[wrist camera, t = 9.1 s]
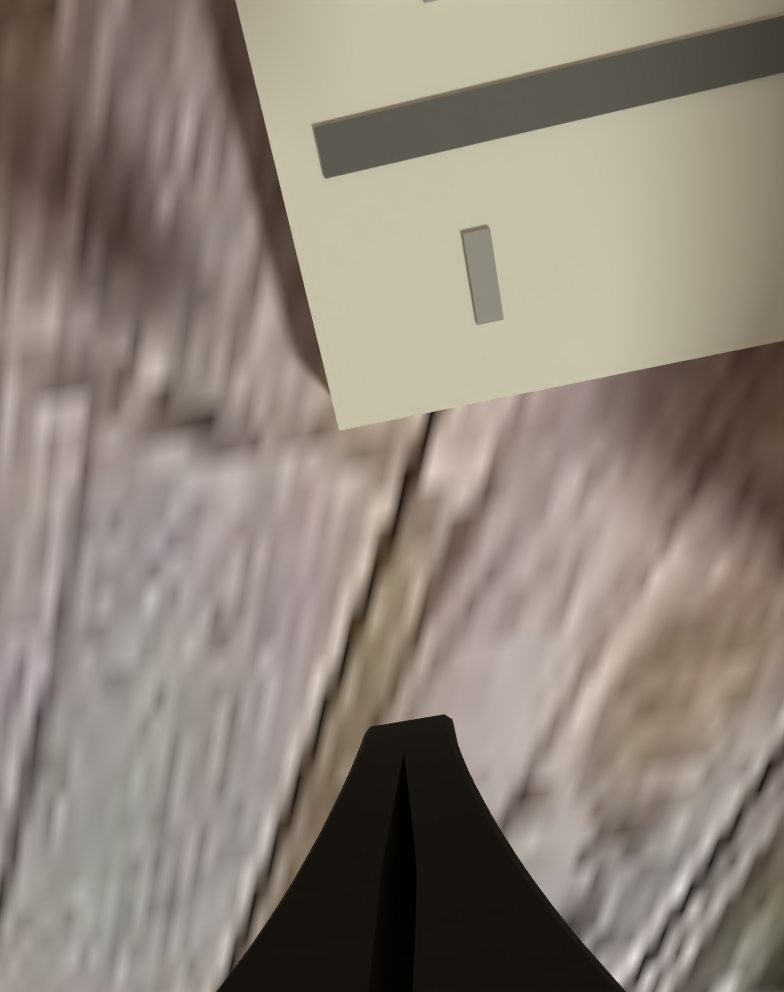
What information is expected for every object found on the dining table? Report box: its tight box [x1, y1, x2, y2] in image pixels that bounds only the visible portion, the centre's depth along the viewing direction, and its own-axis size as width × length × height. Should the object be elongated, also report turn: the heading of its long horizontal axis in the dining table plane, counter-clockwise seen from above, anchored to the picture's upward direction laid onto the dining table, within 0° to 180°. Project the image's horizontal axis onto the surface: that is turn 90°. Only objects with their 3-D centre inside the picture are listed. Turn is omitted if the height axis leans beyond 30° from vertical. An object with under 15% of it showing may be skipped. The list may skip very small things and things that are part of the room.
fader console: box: [235, 0, 784, 430], centre depth 15 cm, size 20×12×2 cm, turn 102°
